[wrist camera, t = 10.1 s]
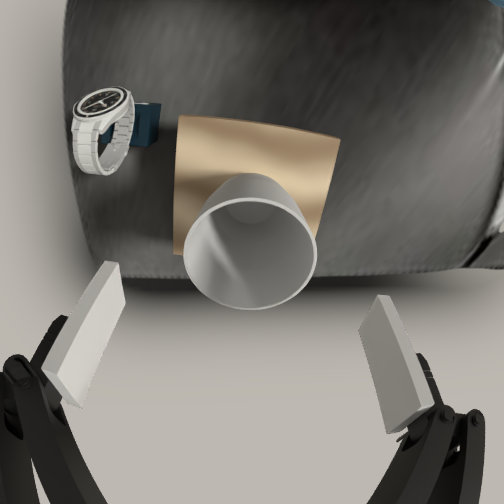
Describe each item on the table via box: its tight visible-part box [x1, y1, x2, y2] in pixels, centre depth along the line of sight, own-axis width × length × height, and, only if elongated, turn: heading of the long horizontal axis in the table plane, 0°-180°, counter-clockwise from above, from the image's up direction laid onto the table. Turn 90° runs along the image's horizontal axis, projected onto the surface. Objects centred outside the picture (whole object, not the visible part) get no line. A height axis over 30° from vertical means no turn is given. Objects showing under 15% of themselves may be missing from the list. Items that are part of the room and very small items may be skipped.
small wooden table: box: [173, 114, 340, 255], centre depth 28 cm, size 14×14×6 cm
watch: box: [71, 86, 161, 175], centre depth 22 cm, size 6×8×11 cm
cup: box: [184, 173, 317, 310], centre depth 21 cm, size 8×8×10 cm
